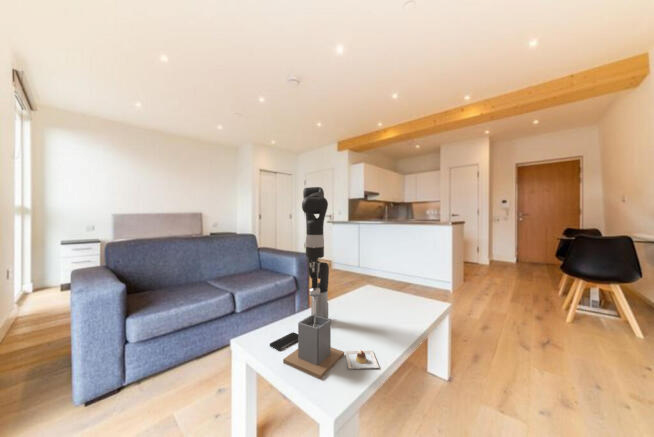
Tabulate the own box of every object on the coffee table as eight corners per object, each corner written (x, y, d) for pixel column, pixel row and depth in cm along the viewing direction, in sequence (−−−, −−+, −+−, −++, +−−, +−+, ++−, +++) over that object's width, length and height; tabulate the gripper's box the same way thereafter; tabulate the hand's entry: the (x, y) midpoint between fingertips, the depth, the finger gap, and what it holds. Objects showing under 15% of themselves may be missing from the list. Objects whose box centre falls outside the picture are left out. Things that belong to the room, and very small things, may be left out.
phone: (304, 336, 115) (279, 349, 103) (304, 339, 115) (279, 352, 103) (292, 331, 120) (268, 343, 108) (292, 334, 120) (268, 346, 108)
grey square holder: (310, 343, 110) (310, 309, 110) (344, 355, 100) (344, 318, 100) (283, 362, 95) (283, 324, 95) (320, 379, 85) (320, 336, 85)
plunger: (312, 323, 103) (312, 285, 103) (327, 328, 99) (327, 288, 99) (301, 330, 97) (301, 289, 97) (316, 335, 92) (317, 292, 92)
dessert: (372, 353, 103) (372, 342, 103) (379, 370, 91) (379, 358, 91) (345, 353, 103) (345, 342, 103) (348, 371, 91) (348, 358, 91)
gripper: (307, 243, 105) (307, 283, 105) (303, 247, 91) (303, 292, 91) (324, 243, 104) (324, 283, 104) (322, 247, 91) (322, 292, 91)
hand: (314, 287), depth 98 cm, fingers closed
